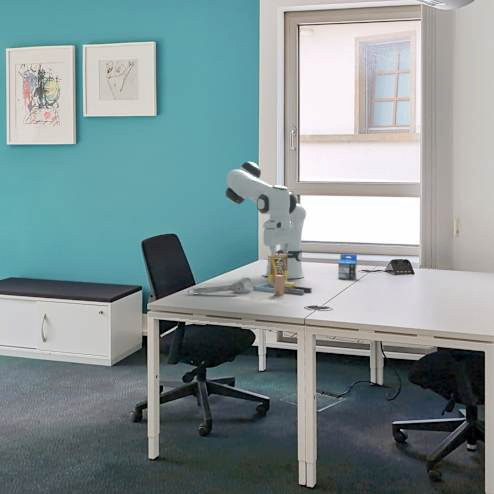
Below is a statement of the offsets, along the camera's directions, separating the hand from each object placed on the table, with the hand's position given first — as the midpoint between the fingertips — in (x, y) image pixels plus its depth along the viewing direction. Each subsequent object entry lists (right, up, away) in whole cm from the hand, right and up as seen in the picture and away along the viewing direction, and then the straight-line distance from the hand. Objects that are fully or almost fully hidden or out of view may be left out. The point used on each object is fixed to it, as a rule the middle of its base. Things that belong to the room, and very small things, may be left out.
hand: (279, 254), depth 314 cm
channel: (+7, -19, +8) cm, 21 cm away
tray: (-4, -18, +16) cm, 24 cm away
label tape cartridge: (+37, -13, +55) cm, 68 cm away
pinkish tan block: (0, -19, +2) cm, 19 cm away
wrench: (-27, -19, +10) cm, 34 cm away
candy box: (0, -16, +32) cm, 36 cm away
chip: (+5, -17, +9) cm, 20 cm away
